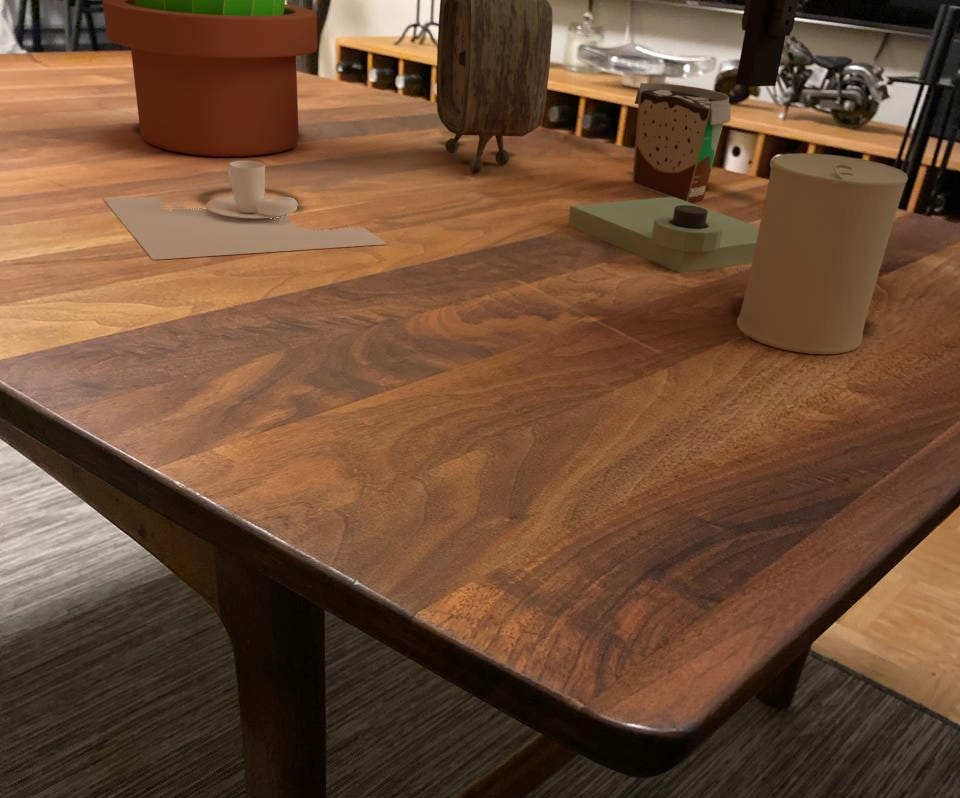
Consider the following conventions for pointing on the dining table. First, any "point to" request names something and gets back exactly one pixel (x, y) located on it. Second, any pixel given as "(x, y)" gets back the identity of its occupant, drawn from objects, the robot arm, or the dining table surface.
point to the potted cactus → (215, 71)
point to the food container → (677, 138)
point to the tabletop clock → (492, 70)
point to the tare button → (689, 217)
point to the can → (819, 251)
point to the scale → (668, 233)
